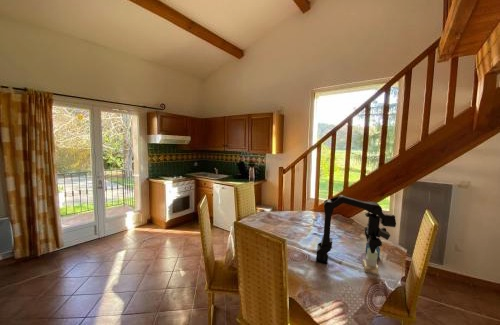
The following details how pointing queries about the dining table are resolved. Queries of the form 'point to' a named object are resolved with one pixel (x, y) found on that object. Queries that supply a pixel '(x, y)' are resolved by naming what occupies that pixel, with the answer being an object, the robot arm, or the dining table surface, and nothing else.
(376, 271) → the beech slab
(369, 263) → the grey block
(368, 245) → the perfume bottle
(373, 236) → the robot arm
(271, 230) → the dining table surface
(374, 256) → the sage cube
